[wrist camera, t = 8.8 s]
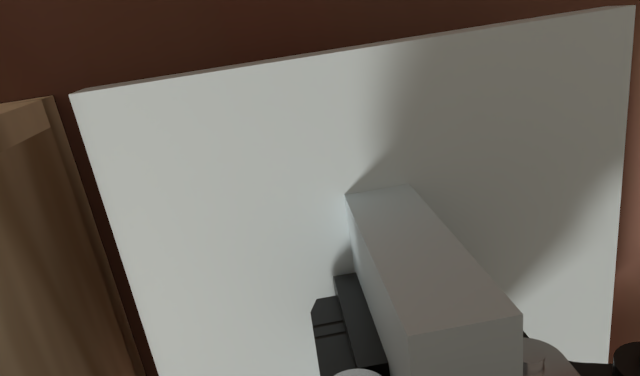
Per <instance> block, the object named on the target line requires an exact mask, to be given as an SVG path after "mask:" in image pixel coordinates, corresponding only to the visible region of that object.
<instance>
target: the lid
mask: <svg viewBox="0 0 640 376" xmlns="http://www.w3.org/2000/svg"><path fill="white" fill-rule="evenodd" d="M635 10H636V5H623V6H604V7H598V8H591V9H585V10H579V11H572V12H566V13H559V14H553V15H547V16H540V17H534V18H528V19H521V20H515V21H509V22H502V23H496V24H490V25H483V26H477V27H470V28H464V29H458V30H451V31H445V32H439V33H432V34H426V35H420V36H413V37H407V38H401V39H394V40H388V41H382V42H375V43H369V44H362V45H356V46H350V47H343V48H337V49H331V50H324V51H318V52H312V53H305V54H299V55H293V56H286V57H280V58H274V59H267V60H261V61H254V62H248V63H242V64H235V65H229V66H223V67H216V68H210V69H204V70H197V71H191V72H185V73H178V74H172V75H165V76H159V77H153V78H146V79H140V80H134V81H127V82H121V83H115V84H108V85H102V86H96V87H89V88H84V89H81V90H79V91H76V92H74V93H71V94H69V99H70V102H71V105H72V108H73V111H74V114H75V117H76V120H77V123H78V126H79V130H80V133H81V136H82V139H83V142H84V145H85V148H86V151H87V154H88V157H89V161H90V164H91V167H92V170H93V173H94V176H95V179H96V182H97V185H98V188H99V192H100V195H101V198H102V201H103V204H104V207H105V210H106V213H107V216H108V220H109V223H110V226H111V229H112V232H113V235H114V238H115V241H116V244H117V247H118V251H119V254H120V257H121V260H122V263H123V266H124V269H125V272H126V275H127V278H128V282H129V285H130V288H131V291H132V294H133V297H134V300H135V303H136V306H137V309H138V313H139V316H140V319H141V322H142V325H143V328H144V331H145V334H146V337H147V340H148V344H149V347H150V350H151V353H152V356H153V359H154V362H155V365H156V368H157V372H158V375H159V376H320V371H319V365H318V359H317V352H316V346H315V339H314V333H313V326H312V320H311V313H310V312H311V310H312V308H313V306H314V303H315V301H316V299H319V298H325V297H330V296H335V289H334V282H333V276H338V275H343V274H349V273H354V272H356V274H357V276H358V279H359V282H360V285H361V287H362V290H363V293H364V296H365V299H366V301H367V304H368V307H369V310H370V312H371V315H372V318H373V321H374V324H375V326H376V329H377V332H378V335H379V337H380V340H381V343H382V346H383V349H384V351H385V354H386V357H387V360H388V362H389V371H390V376H523V331H524V332H525V333H526V335H527V336H528V337H529V338H533V339H537V340H541V341H544V342H546V343H548V344H550V345H552V346H554V347H555V348H557V349H558V350H559V351H560V352H561V353H562V354H563V355H564V356H565V357H566V359H567V360H568V361H573V362H582V363H602V364H608V357H609V344H610V331H611V318H612V305H613V293H614V280H615V267H616V254H617V241H618V228H619V216H620V203H621V190H622V177H623V164H624V152H625V139H626V126H627V113H628V100H629V87H630V75H631V62H632V49H633V36H634V23H635Z"/></svg>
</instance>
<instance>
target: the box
mask: <svg viewBox="0 0 640 376" xmlns="http://www.w3.org/2000/svg"><path fill="white" fill-rule="evenodd" d="M0 376H146V374H145V371H144V368H143V365H142V362H141V359H140V356H139V353H138V350H137V347H136V344H135V341H134V338H133V335H132V332H131V329H130V326H129V323H128V320H127V317H126V314H125V311H124V308H123V305H122V302H121V299H120V296H119V293H118V290H117V286H116V283H115V280H114V277H113V274H112V271H111V268H110V265H109V262H108V259H107V256H106V253H105V250H104V247H103V244H102V241H101V238H100V235H99V232H98V229H97V226H96V223H95V220H94V217H93V214H92V211H91V208H90V205H89V202H88V199H87V196H86V193H85V190H84V187H83V184H82V181H81V178H80V175H79V172H78V169H77V166H76V163H75V160H74V157H73V154H72V151H71V148H70V145H69V142H68V139H67V136H66V133H65V130H64V127H63V124H62V121H61V118H60V115H59V112H58V109H57V106H56V103H55V100H54V97H53V95H52V96H46V97H39V98H33V99H27V100H20V101H14V102H8V103H1V104H0Z"/></svg>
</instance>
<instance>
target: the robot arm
mask: <svg viewBox="0 0 640 376" xmlns="http://www.w3.org/2000/svg"><path fill="white" fill-rule="evenodd" d="M333 282H334V289H335V296H330V297H325V298H319V299H316V301H315V303H314V306H313V308H312V310H311V312H310V313H311V320H312V326H313V333H314V339H315V346H316V352H317V359H318V365H319V371H320V376H390V371H389V362H388V360H387V357H386V354H385V351H384V349H383V346H382V343H381V340H380V337H379V335H378V332H377V329H376V326H375V324H374V321H373V318H372V315H371V312H370V310H369V307H368V304H367V301H366V299H365V296H364V293H363V290H362V287H361V285H360V282H359V279H358V276H357V274H356V272H354V273H349V274H343V275H338V276H333ZM523 376H640V342H632V343H628V344H624V345H622V346H620V347H619V348H618V349H617V350H616V351H615V353H614V357H613V364H602V363H582V362H573V361H568V360H567V359H566V357H565V356H564V355H563V354H562V353H561V352H560V351H559V350H558V349H557V348H555V347H554V346H552V345H550V344H548V343H546V342H544V341H541V340H537V339H533V338H529V337H528V336H527V335H526V333H525V332H524V331H523Z"/></svg>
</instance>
